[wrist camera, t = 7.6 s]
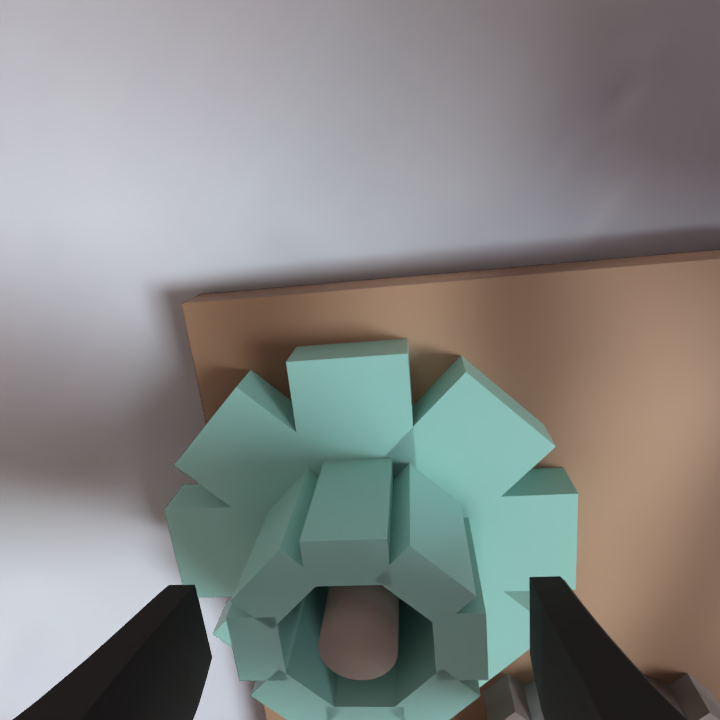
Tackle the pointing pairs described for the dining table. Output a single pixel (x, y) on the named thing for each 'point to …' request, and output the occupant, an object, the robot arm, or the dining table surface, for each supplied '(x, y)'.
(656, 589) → the gear board
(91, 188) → the dining table surface
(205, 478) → the teal gear
